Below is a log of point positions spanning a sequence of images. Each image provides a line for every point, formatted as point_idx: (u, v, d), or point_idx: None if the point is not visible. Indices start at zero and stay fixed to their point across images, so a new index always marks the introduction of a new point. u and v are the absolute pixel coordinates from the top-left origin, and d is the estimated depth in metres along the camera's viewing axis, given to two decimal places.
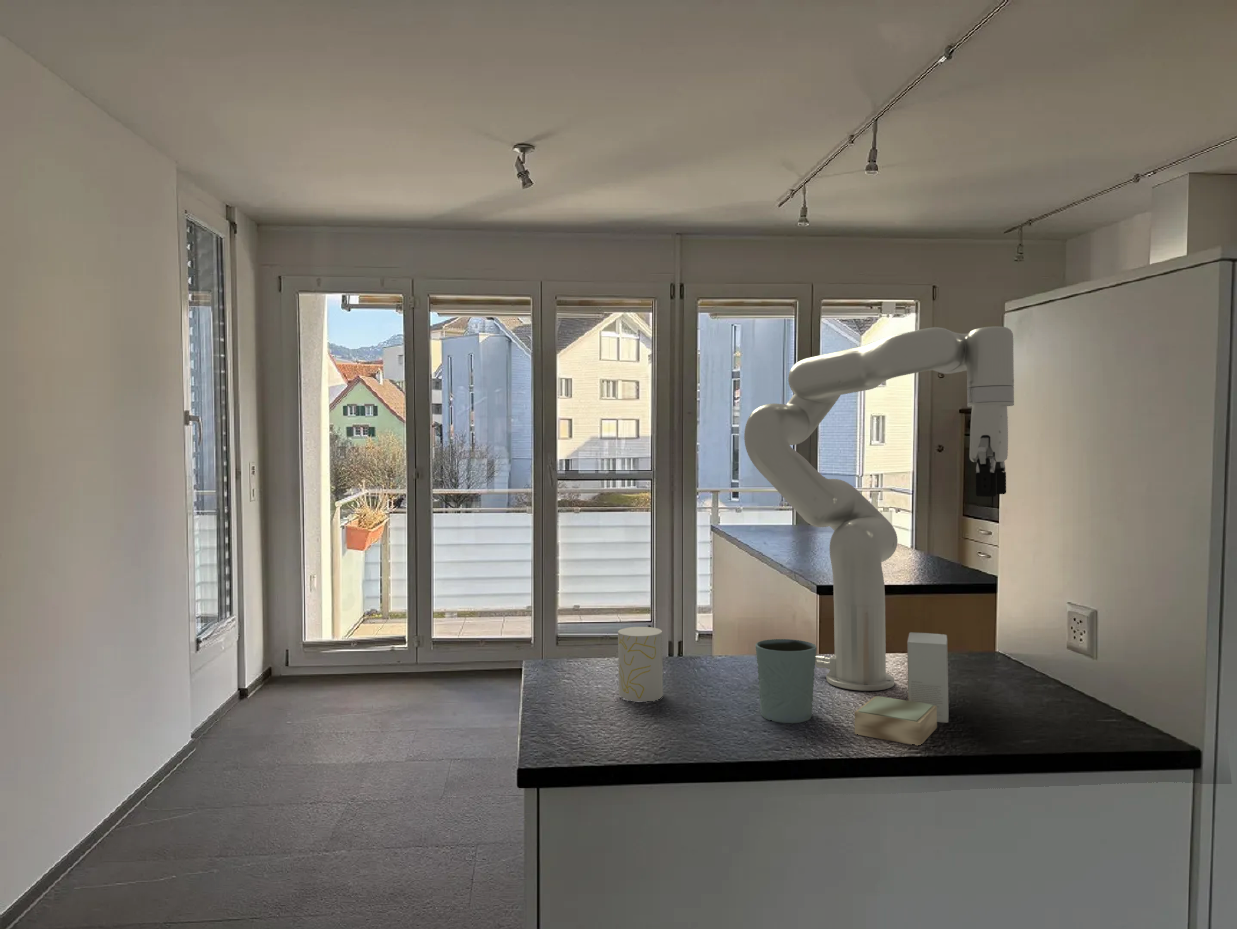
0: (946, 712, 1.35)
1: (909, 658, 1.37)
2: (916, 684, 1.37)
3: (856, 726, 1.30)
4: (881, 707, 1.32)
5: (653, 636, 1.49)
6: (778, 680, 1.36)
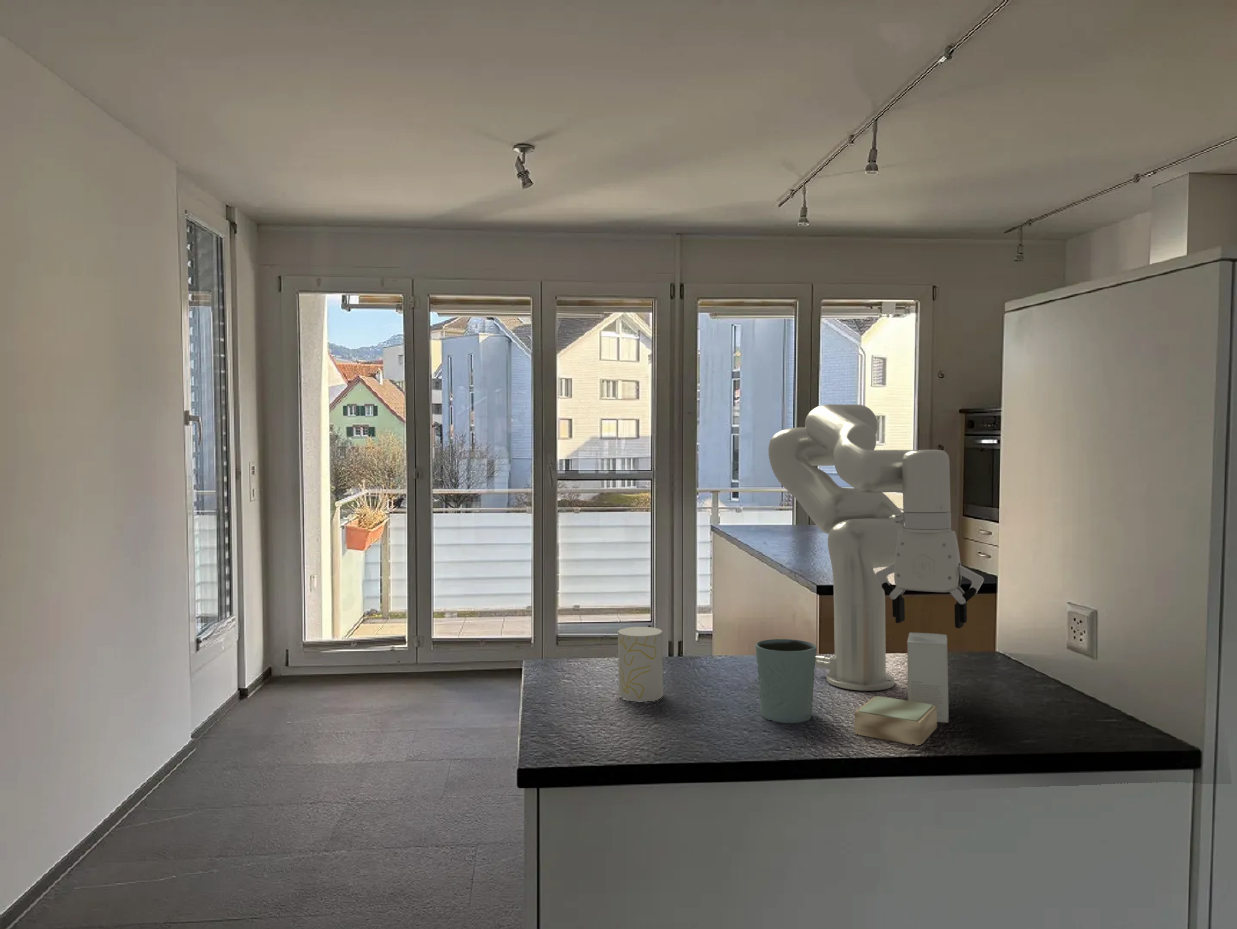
0: (946, 712, 1.35)
1: (909, 658, 1.37)
2: (916, 684, 1.37)
3: (856, 726, 1.30)
4: (881, 707, 1.32)
5: (653, 636, 1.49)
6: (778, 680, 1.36)
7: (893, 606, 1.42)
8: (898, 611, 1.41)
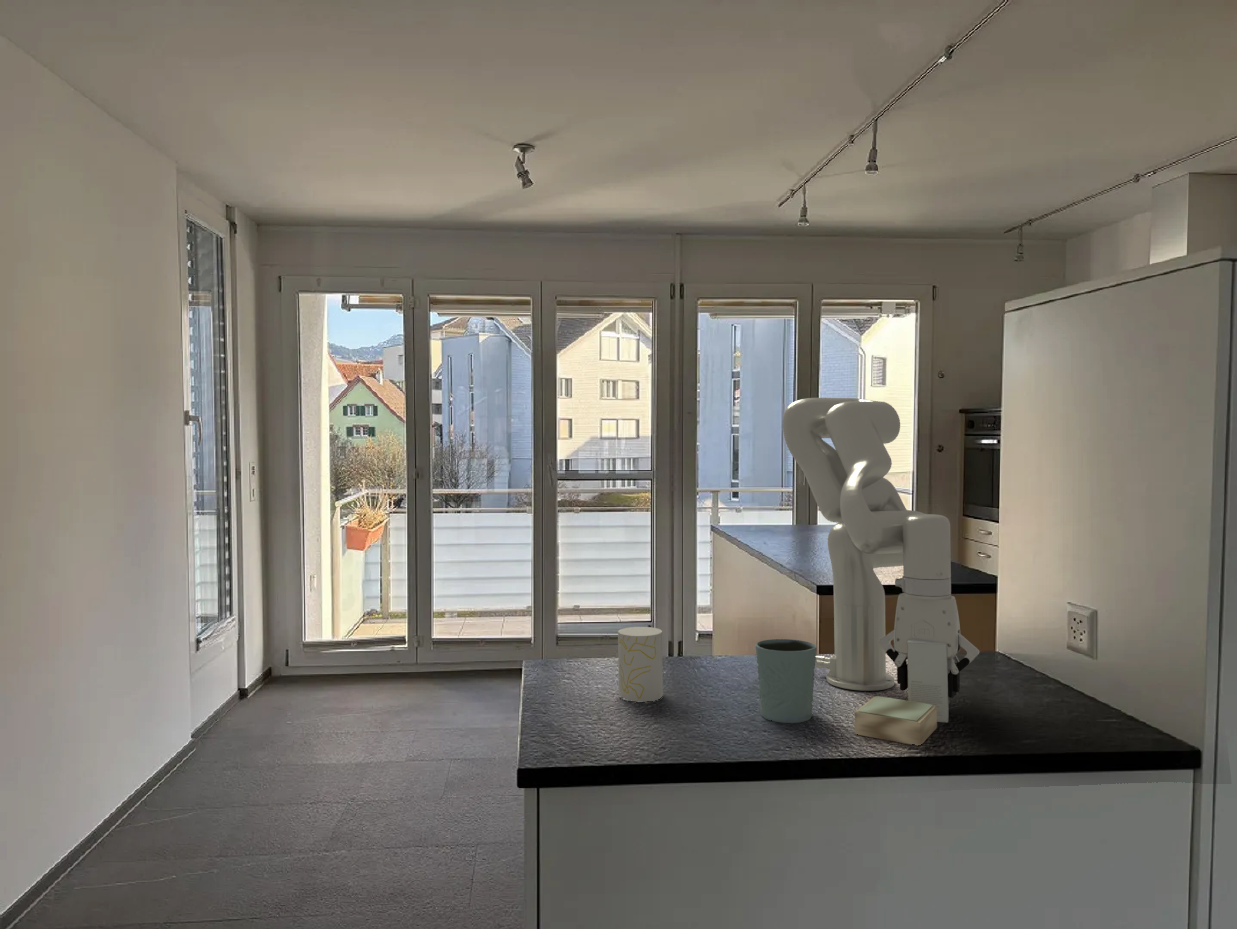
0: (946, 712, 1.35)
1: (909, 658, 1.37)
2: (916, 684, 1.37)
3: (856, 726, 1.30)
4: (881, 707, 1.32)
5: (653, 636, 1.49)
6: (778, 680, 1.36)
7: (898, 673, 1.42)
8: (903, 679, 1.41)
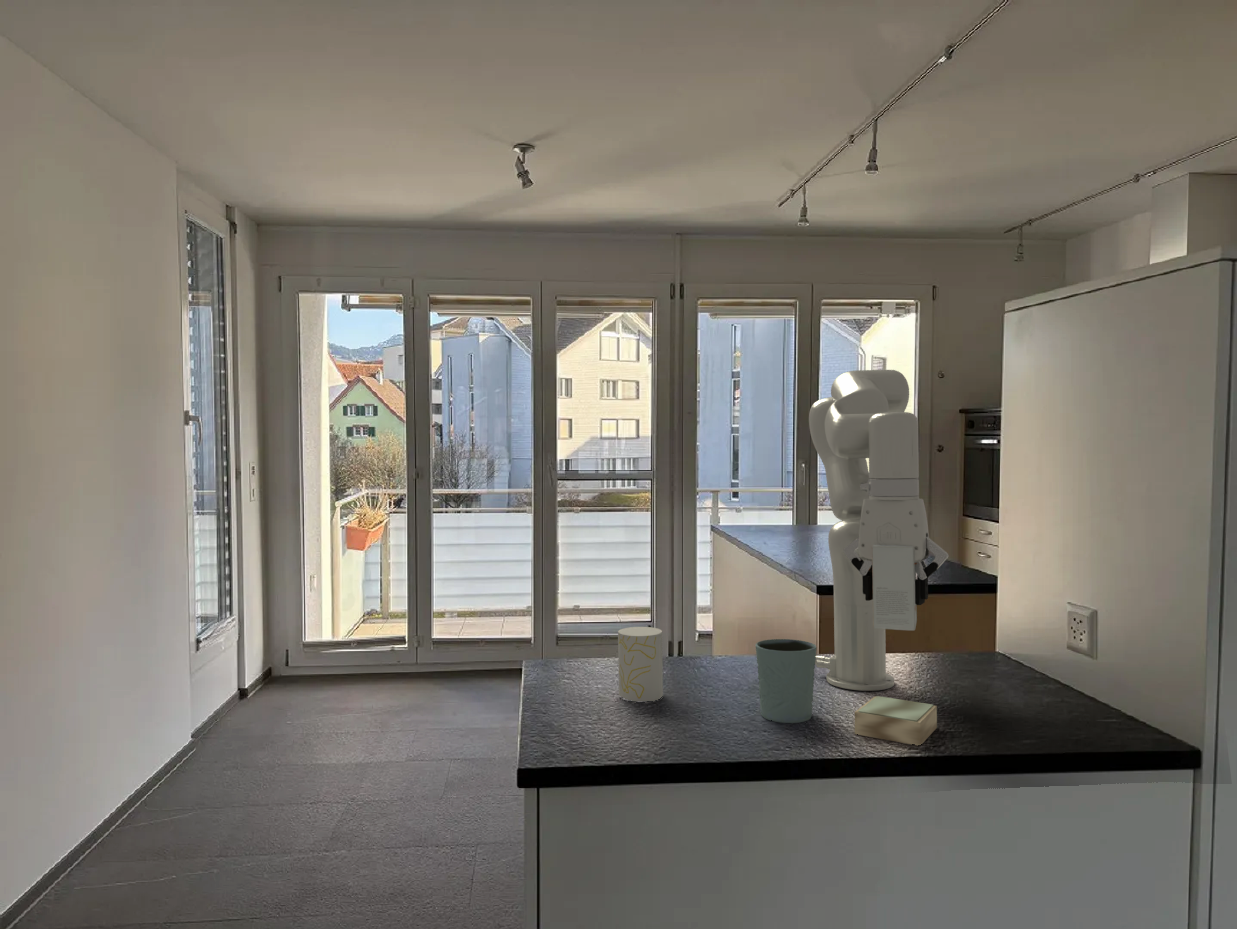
0: (913, 619, 1.27)
1: (874, 563, 1.29)
2: (881, 590, 1.28)
3: (856, 726, 1.30)
4: (881, 707, 1.32)
5: (653, 636, 1.49)
6: (778, 680, 1.36)
7: (863, 583, 1.33)
8: (868, 588, 1.32)
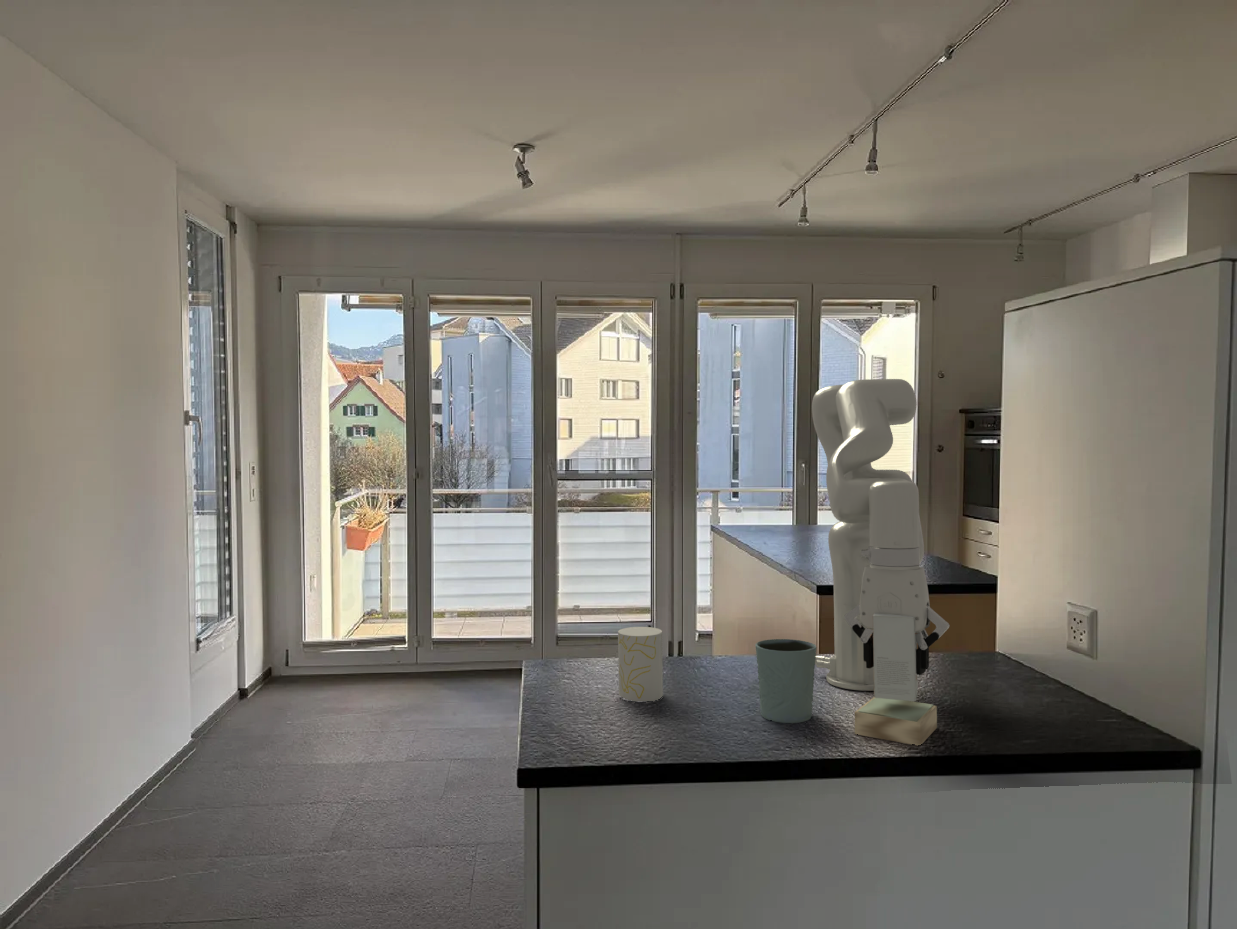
0: (914, 690, 1.27)
1: (875, 632, 1.29)
2: (882, 660, 1.28)
3: (856, 726, 1.30)
4: (881, 707, 1.32)
5: (653, 636, 1.49)
6: (778, 680, 1.36)
7: (864, 650, 1.33)
8: (869, 656, 1.32)
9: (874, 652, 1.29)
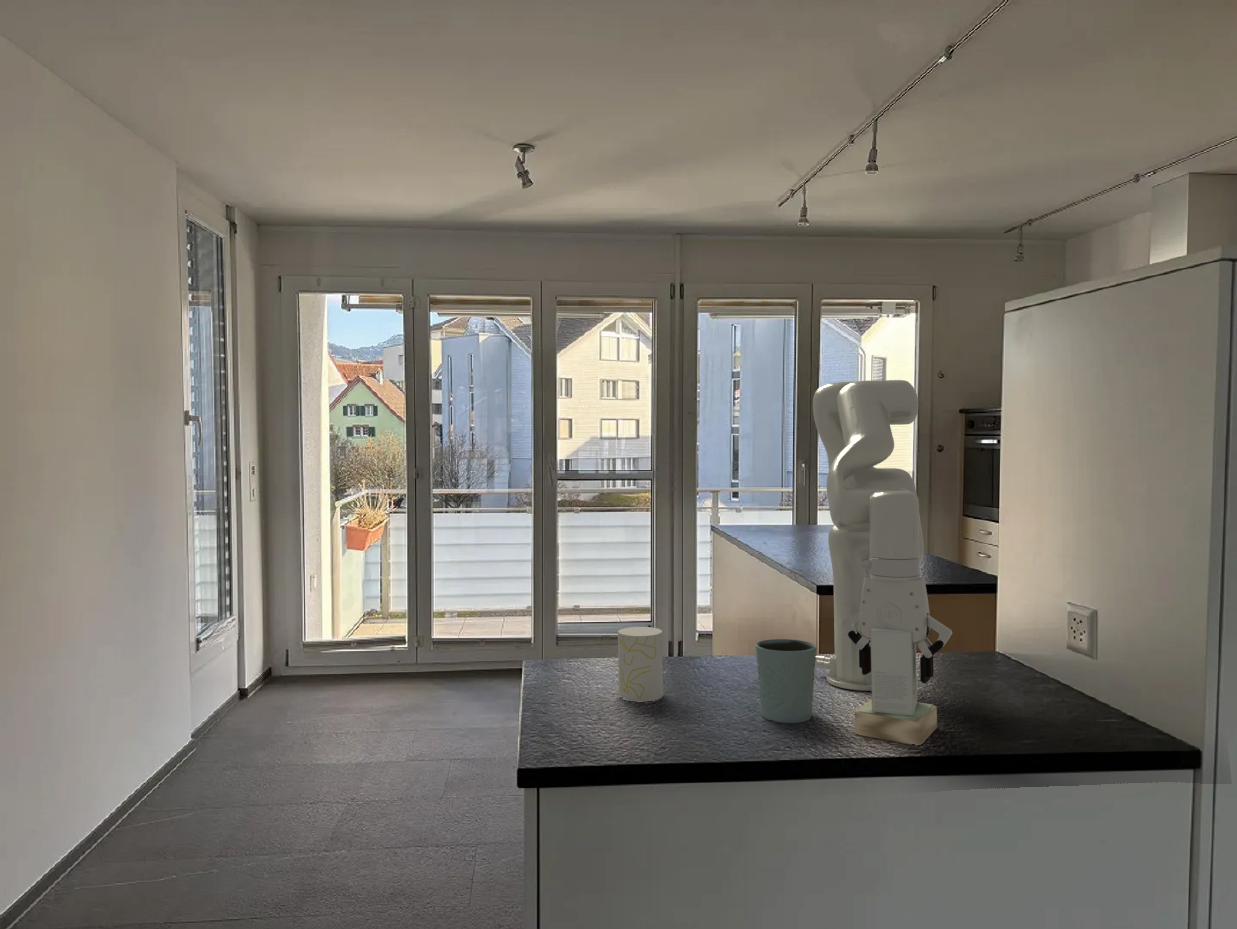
0: (911, 704, 1.27)
1: (872, 647, 1.29)
2: (879, 675, 1.29)
3: (856, 726, 1.30)
4: None
5: (653, 636, 1.49)
6: (778, 680, 1.36)
7: (860, 656, 1.34)
8: (865, 662, 1.33)
9: (872, 666, 1.29)
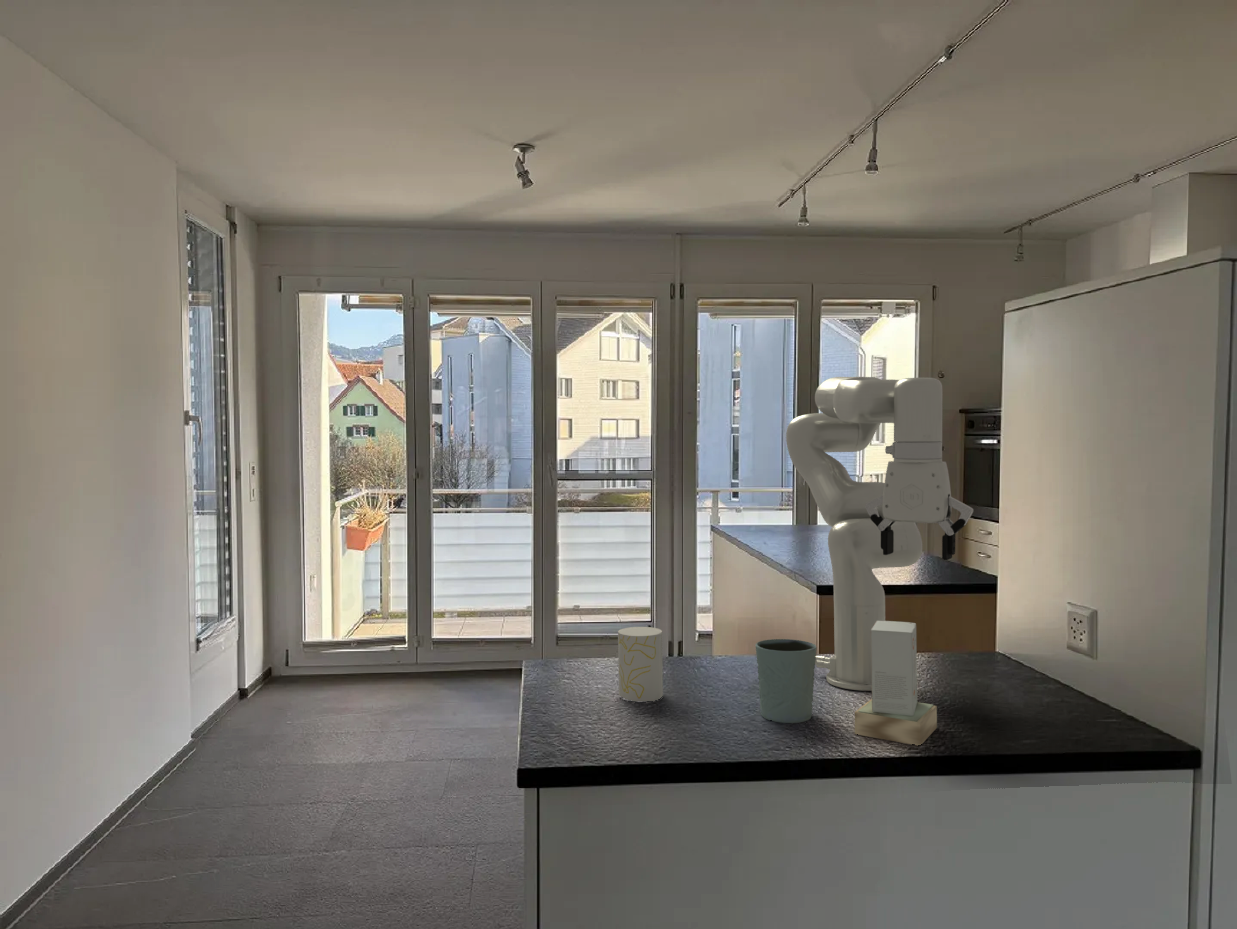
0: (911, 705, 1.27)
1: (873, 647, 1.29)
2: (880, 675, 1.29)
3: (856, 726, 1.30)
4: None
5: (653, 636, 1.49)
6: (778, 680, 1.36)
7: (881, 538, 1.40)
8: (886, 543, 1.38)
9: (872, 666, 1.29)
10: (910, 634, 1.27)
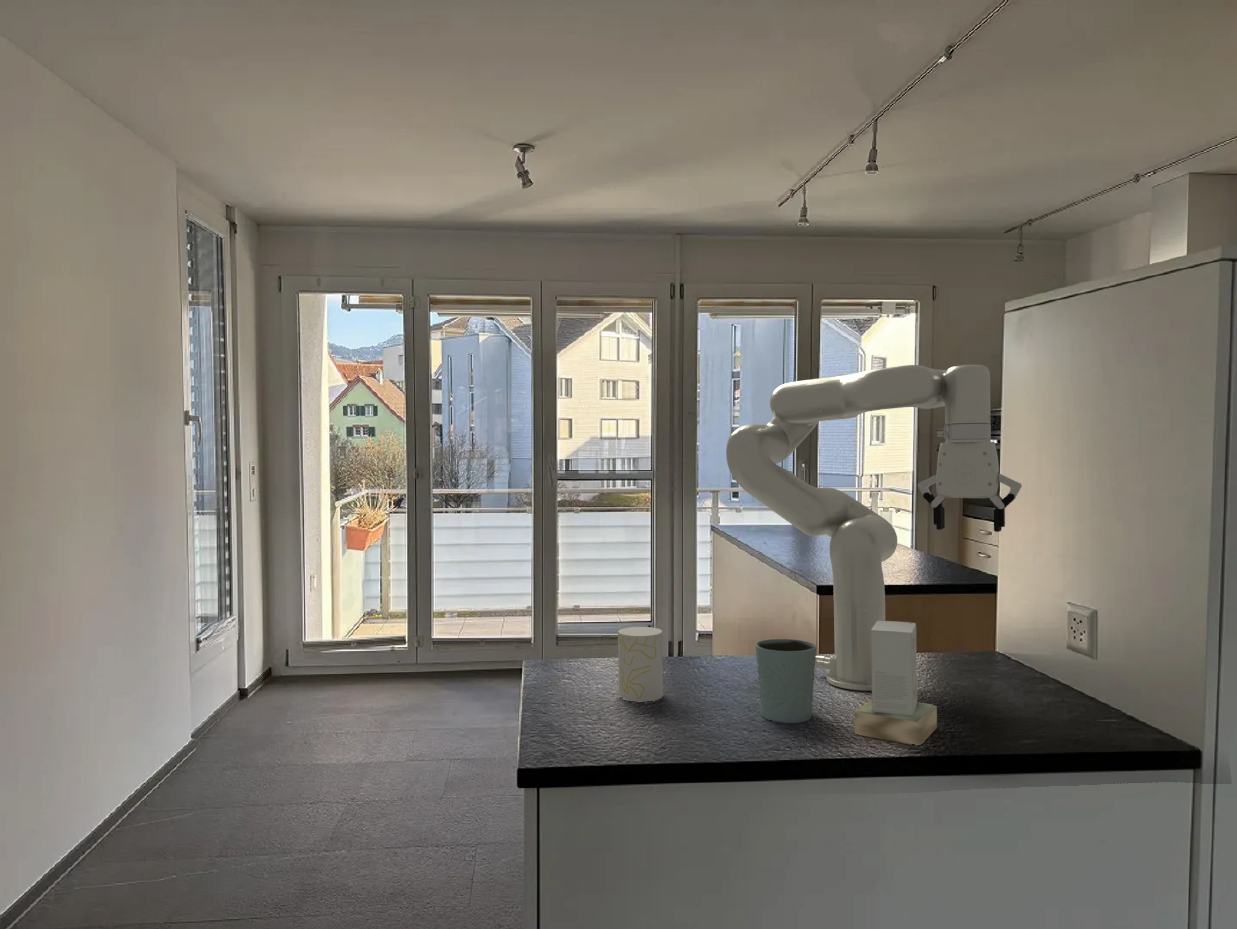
0: (911, 705, 1.27)
1: (873, 647, 1.29)
2: (880, 675, 1.29)
3: (856, 726, 1.30)
4: None
5: (653, 636, 1.49)
6: (778, 680, 1.36)
7: (934, 514, 1.51)
8: (939, 518, 1.50)
9: (872, 666, 1.29)
10: (910, 634, 1.27)
